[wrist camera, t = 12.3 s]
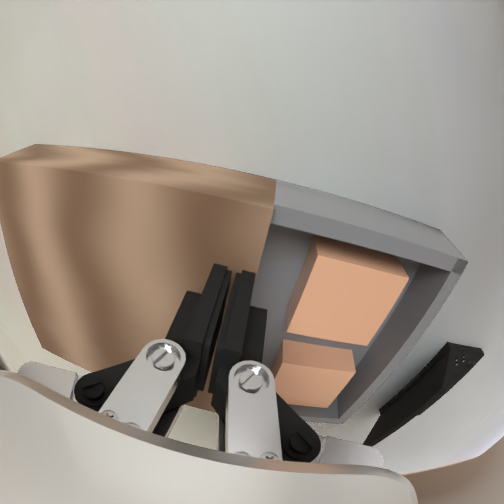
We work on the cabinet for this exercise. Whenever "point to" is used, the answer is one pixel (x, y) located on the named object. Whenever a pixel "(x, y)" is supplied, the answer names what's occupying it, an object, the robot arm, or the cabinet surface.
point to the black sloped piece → (424, 389)
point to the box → (365, 236)
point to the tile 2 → (344, 292)
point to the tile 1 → (311, 373)
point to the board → (122, 244)
